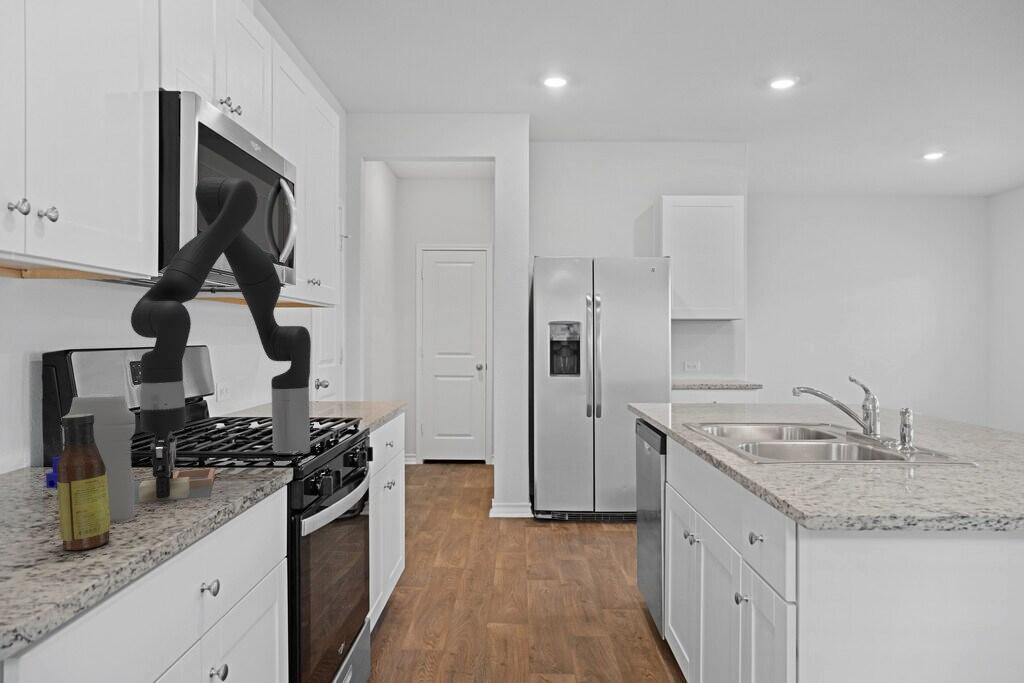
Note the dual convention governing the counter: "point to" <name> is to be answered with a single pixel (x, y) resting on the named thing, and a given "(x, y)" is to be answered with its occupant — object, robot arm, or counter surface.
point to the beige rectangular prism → (177, 489)
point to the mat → (192, 494)
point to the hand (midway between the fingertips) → (165, 493)
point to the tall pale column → (112, 447)
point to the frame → (197, 473)
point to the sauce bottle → (82, 487)
